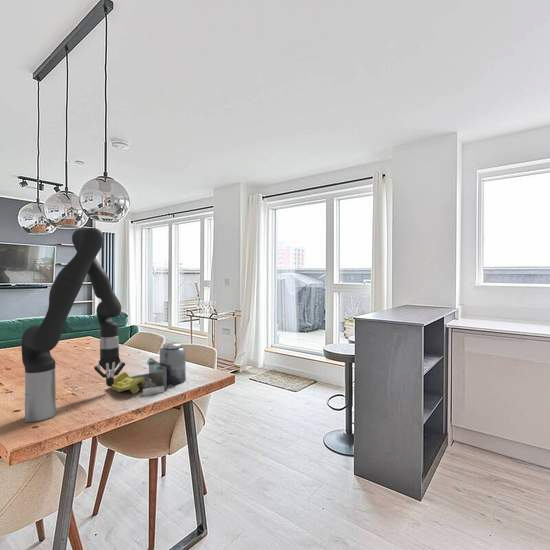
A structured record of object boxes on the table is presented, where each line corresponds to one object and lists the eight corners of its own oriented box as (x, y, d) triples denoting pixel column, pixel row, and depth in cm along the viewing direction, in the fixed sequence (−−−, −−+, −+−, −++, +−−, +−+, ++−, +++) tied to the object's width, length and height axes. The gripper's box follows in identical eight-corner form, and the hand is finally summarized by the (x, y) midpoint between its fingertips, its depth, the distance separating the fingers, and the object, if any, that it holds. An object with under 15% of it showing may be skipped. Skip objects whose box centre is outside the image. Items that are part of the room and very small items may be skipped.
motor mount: (143, 396, 145) (142, 353, 145) (129, 381, 166) (129, 344, 166) (194, 385, 158) (194, 346, 158) (176, 373, 179) (175, 338, 179)
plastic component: (107, 383, 155) (126, 369, 162) (115, 396, 157) (133, 382, 164) (124, 389, 142) (144, 374, 148) (132, 403, 144) (152, 388, 150)
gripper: (93, 350, 142) (94, 391, 142) (127, 345, 150) (127, 385, 150) (91, 347, 149) (91, 386, 148) (123, 343, 156) (124, 380, 156)
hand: (110, 385), depth 149 cm, fingers closed
